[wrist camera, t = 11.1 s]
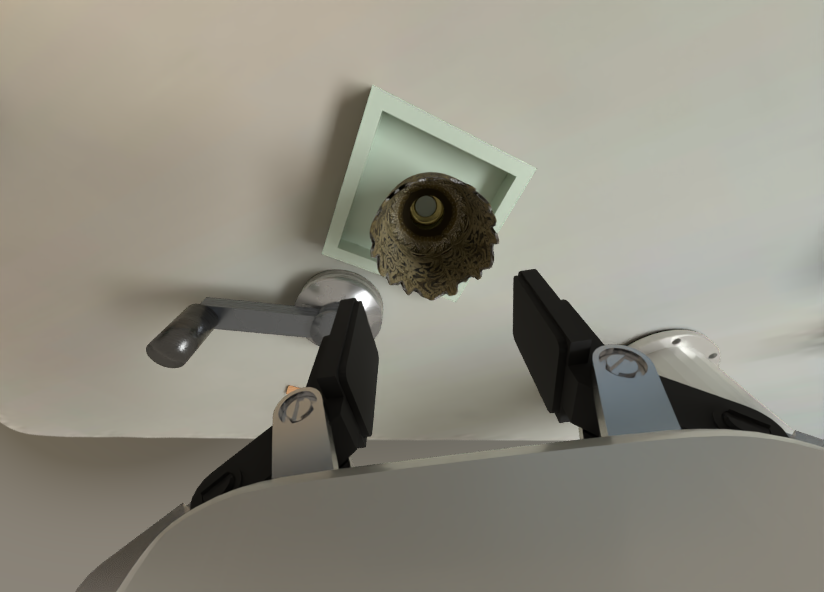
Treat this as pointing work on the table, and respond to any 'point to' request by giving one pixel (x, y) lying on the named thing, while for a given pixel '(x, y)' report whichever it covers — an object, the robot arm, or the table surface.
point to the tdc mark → (291, 389)
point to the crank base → (343, 294)
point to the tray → (413, 173)
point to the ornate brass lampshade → (433, 235)
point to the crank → (236, 325)
